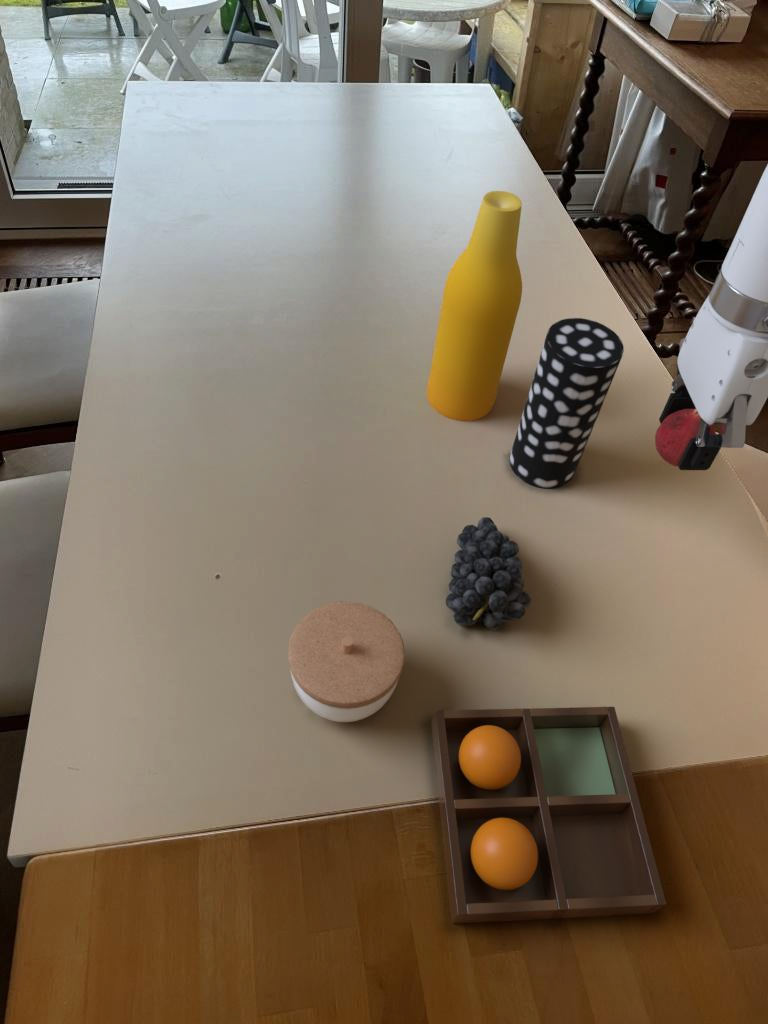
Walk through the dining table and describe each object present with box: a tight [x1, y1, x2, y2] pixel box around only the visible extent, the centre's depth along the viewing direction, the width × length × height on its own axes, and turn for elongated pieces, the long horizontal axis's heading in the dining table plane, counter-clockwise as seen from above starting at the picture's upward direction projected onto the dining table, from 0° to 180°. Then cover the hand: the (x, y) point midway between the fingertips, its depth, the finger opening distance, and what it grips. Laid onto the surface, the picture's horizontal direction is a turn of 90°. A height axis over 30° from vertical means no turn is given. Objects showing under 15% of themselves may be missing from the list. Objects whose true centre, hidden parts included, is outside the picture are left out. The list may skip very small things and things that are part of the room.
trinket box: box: [287, 600, 406, 723], centre depth 74 cm, size 11×11×9 cm
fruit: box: [445, 516, 532, 631], centre depth 84 cm, size 9×8×15 cm
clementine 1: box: [459, 725, 521, 790], centre depth 71 cm, size 6×6×6 cm
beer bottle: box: [426, 190, 523, 422], centre depth 95 cm, size 9×9×29 cm
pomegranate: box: [654, 409, 717, 467], centre depth 81 cm, size 6×6×8 cm
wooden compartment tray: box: [430, 706, 667, 925], centre depth 70 cm, size 17×17×4 cm
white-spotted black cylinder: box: [508, 317, 625, 490], centre depth 92 cm, size 8×8×20 cm
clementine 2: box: [471, 818, 538, 890], centre depth 66 cm, size 6×6×6 cm
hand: (683, 443), depth 82 cm, fingers closed on pomegranate, 5 cm apart
